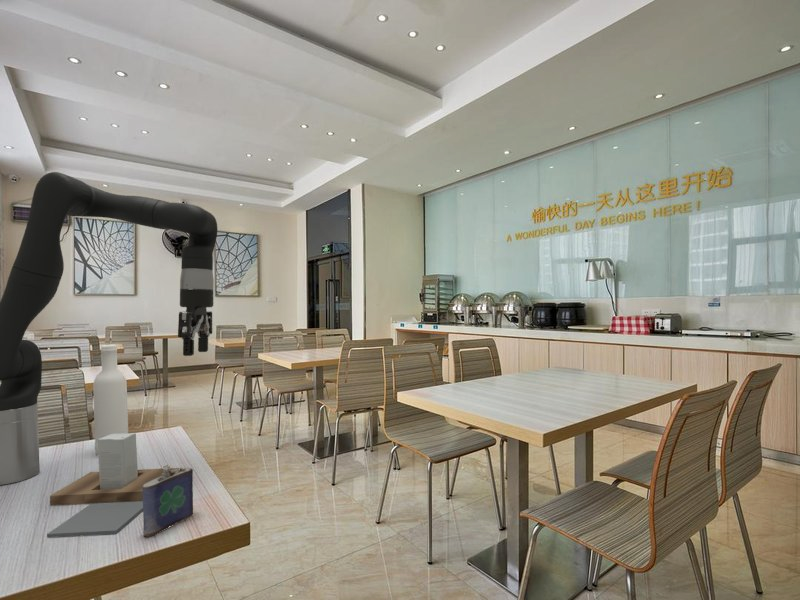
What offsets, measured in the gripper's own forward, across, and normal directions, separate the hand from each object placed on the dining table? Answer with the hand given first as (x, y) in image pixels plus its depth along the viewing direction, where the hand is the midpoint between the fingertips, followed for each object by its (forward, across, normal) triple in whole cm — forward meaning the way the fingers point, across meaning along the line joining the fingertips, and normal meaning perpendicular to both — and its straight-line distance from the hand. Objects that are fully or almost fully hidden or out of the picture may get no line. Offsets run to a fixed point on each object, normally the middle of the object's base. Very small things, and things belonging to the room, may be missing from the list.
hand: (196, 353), depth 103 cm
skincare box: (+29, +9, -12) cm, 33 cm away
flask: (+29, +26, +6) cm, 39 cm away
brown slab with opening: (+29, +9, -12) cm, 33 cm away
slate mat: (+29, +22, -8) cm, 38 cm away
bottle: (+29, -17, -30) cm, 45 cm away
